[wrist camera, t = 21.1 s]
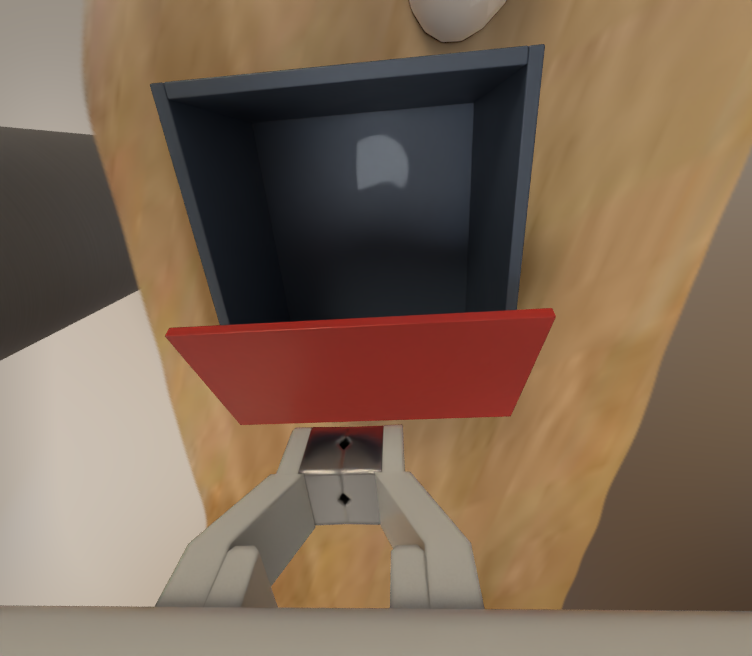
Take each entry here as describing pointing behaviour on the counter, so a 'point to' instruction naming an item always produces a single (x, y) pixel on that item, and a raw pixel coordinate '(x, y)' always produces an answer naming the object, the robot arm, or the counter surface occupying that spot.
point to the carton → (359, 184)
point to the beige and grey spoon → (454, 17)
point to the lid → (368, 366)
